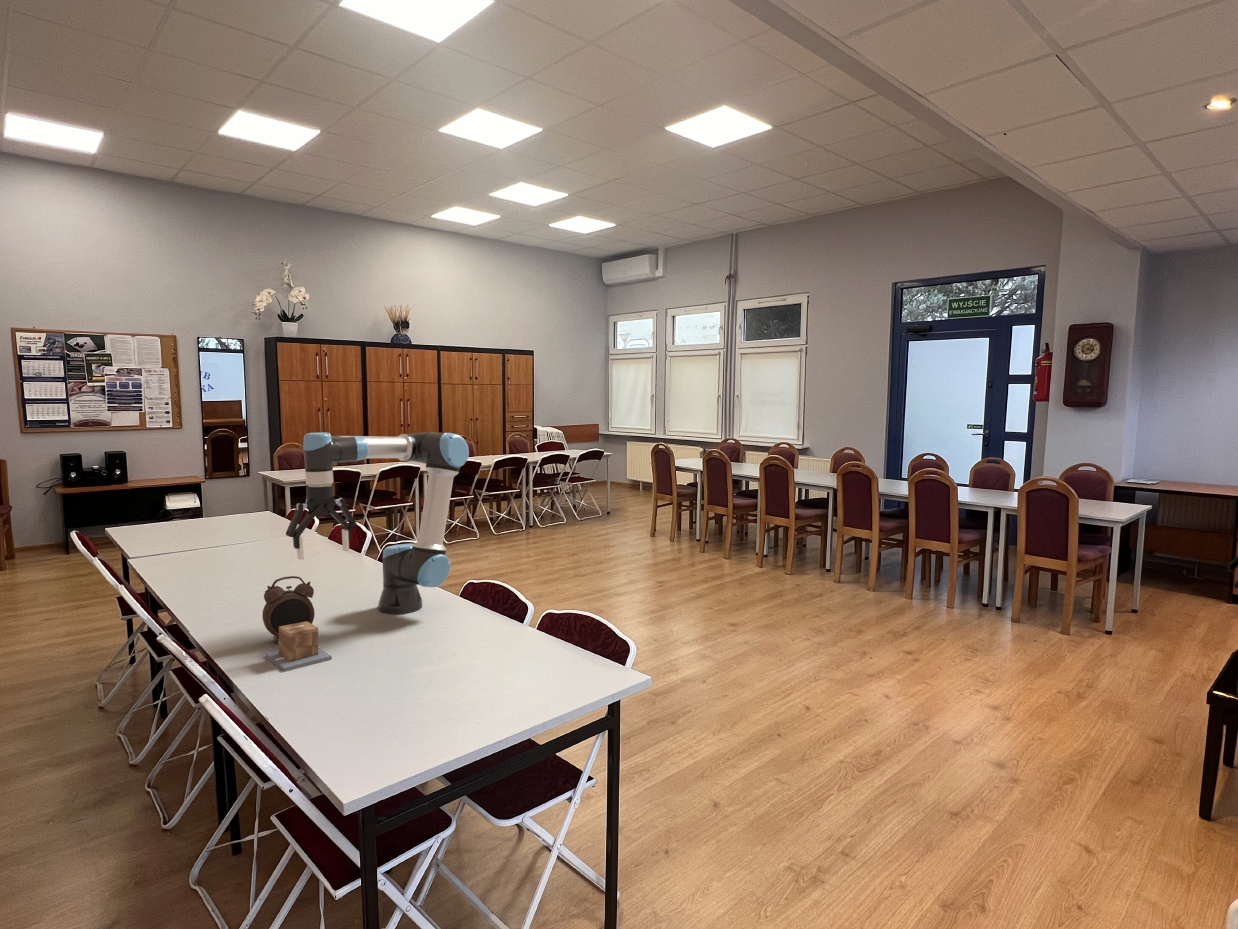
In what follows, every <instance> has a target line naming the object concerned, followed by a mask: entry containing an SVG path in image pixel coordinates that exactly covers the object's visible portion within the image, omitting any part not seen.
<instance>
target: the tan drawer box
mask: <svg viewBox="0 0 1238 929" xmlns="http://www.w3.org/2000/svg"><path fill="white" fill-rule="evenodd" d="M318 648H319V627H317V626H316V625H314V624H313V623H312V624H311V623H309V622H307V621H306V622H301V623H295V624H290V625H285V626H280V627H279V639H278V650H279V654H280V655H281V656H283V657H284V658H286V659H287V660H288V661H293V660H297V659H301V658H306V657H310V656H314V655H318Z"/></svg>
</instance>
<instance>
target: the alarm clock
mask: <svg viewBox="0 0 1238 929" xmlns="http://www.w3.org/2000/svg"><path fill="white" fill-rule="evenodd" d="M290 579H296V580H298V579H299V581H301V583H300V584H297V585H296V586H295V588H294V589H293V590H291V589H292V588H293V587H292V586H291V585H288V586H286V587H285V589H287V590H284V588H282V586H278V585H276V584H277V583H278V582H280V581H284V580H290ZM266 588H267V589H266V590H264V594H263V600H264V601H265V604H264V606H263V609H262V621H263V622H262V623H263V625H264V627H265V628H266V630H267V631H268V632H269V633H270V634H271V635H272V636H273V637H272V638H273V640H274V641H273V644H277V641H279V627H280V626H285V625H290V624H295V623H301V622H306V621H307V622H309V623H311V624H313V622H314V619H315V608H314V605H313V603H312V601H311V600H310V599H313V597H314V595H315V594H314V593H315V590H314V588H313V587H312V586H311V581H308V582H306V583H305V581H304V580H303V578H302V577H300V576H296V575H291V576H283V577H279V578H277V579H275V580H274V581H273V583H272V584H271V585H267V587H266Z"/></svg>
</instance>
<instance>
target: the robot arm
mask: <svg viewBox="0 0 1238 929" xmlns="http://www.w3.org/2000/svg"><path fill="white" fill-rule="evenodd" d="M302 449H303V456H304V457H303V458H304V459H303V460H304V471H305V472H304V473H305V474H304V475H305V476H304V477H305V484H306V488H305V489H306V490H305V492H306V503H299V502H296V503H295V511H294V513H293V516H292V518H291V520H290V521H289V522H290V523H289V525H288V527H287V529H286V531H285V536H287V537H289V538H292V543H293V544H292V545H293V549H296V556H297V559H298V560H300V561H302V560H304V559H305V557H304V543H303V542H304V541H303V539H304V538H303V537H302V536H301V535H302V534H303V533H304V532H305V530H306V529H307V527H308V525H310V523H311V522H312V521H313V520H314V519H315V518H316V517H318V518H319V517H322V516H324V517H325V516H326V517H327V516H329V515H331V517H332V518H334V519H335V521H336V522H338V524H340V525H341V526H342V527H343V528H342V529H341V538H342V539H341V541H342V551H345V552H350V540H351V539H352V530H353V528H354V527H355V528H356V527H358V526H357V525H358V524H357V521H356V520H355V518H354V517H353V515H352V513H351V512H350V510H349V509H348V508H349V507H348V506H347V505H346V504H347V503H346V499H345V498H343V497H338V499H337V498H336V499H335V487H334V485H333V484H334V470H333V466H334V464H337V463H338V464H339V463H350V462H359V461H362V460H365V459H397V460H399V461H400V462H401V461H402V462H414V463H419V464H425V470H426V471H427V473H428V476H427V478H428V479H427V484H426V488H425V489H426V490H425V495H424V501H423V508H422V514H421V520H420V526H419V532H418V539H417V541H416V542H415V543H403V544H402V543H401V544H394V545H390V546H386V547H385V548H384V549H383V551H382V557H381V558H382V581H383V582H382V584H383V587H382V588H383V589H382V591H381V594H380V597H379V600H378V611H379V612H381V613H382V614H391V615H392V614H393V615H397V614H398V615H401V614H407V613H414V612H416V611H418V610H421V609H423V608H422V607H423V600H422V596H421V594H420V590H419V587H418V585H419V586H421V587H423V588H436V587H439V586H441V585H442V584H443V583H444V582H445V581H446V580H447V579H448V576H449V575H450V572H451V569H452V568H451V562H450V559H449V558H448V556H446V553H447V547H445V546H444V540H445V533H446V526H447V520H448V515H449V508H450V503H451V502H450V500H451V496H452V490H453V482H454V478H455V477H456V476H457V475H458V474H459V473H460V468H461V467H462V466H464V465H465V463H467V461H468V460H469V455H470V452H469V451H470V450H469V449H470V448H469V446H468V443H467V442H466V440H465V439H464V438H463V437H462V436H461V435H459V434H457V433H452V432H432V431H427V432H426V431H423V432H418V433H417V432H416V433H401V434H399V435H398V436H379V435H378V436H377V435H376V436H373V435H371V436H369V435H368V436H367V435H365V436H362V435H331V433H330V432H308V433H306V434H304V436H303V448H302ZM336 505H337V506H338V507H339V509H340V511H341V512H342V514H343V515H344V516H343V517H342V516H341V515H340V514H339V513H338V512H337V510H335V509H334V508H335V506H336ZM305 510H307V512H306V513H305V516H304V518H303V519H302V521H301V522H300V520H301V518H302V515H303V513H304V511H305ZM344 517H345V519H346V520H345V519H344Z"/></svg>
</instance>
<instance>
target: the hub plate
mask: <svg viewBox="0 0 1238 929" xmlns="http://www.w3.org/2000/svg"><path fill="white" fill-rule="evenodd" d="M264 657H265V658H267V659H268V660H269V661H270V662H271V663H273V664H275V665H276V667H278V668H279V669H281V670H282V671H284V672H287V671H291V670H296V669H299V668H303V667H307V666H310V665H315V664H319V663H323V662H325V661H331V660H332V657H333V656H332V655H331V654H329V653H328V652H326V651H324V649H321V648H320V647H318V655H314V656H310V657H306V658H301V659H297V660H293V661H288V660H287V659H286V658H284V657H283V656H281V655H280V654H279V649H278V650H274V651H269V652H266V653H264Z"/></svg>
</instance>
